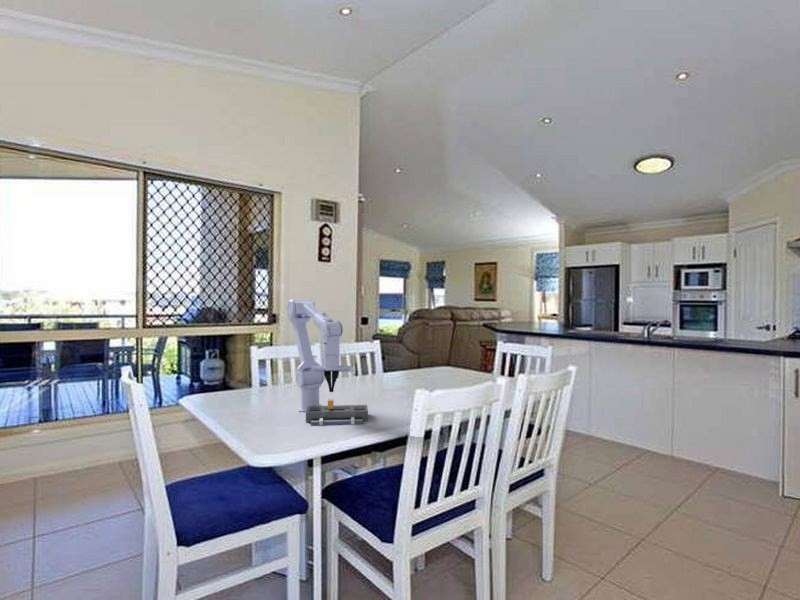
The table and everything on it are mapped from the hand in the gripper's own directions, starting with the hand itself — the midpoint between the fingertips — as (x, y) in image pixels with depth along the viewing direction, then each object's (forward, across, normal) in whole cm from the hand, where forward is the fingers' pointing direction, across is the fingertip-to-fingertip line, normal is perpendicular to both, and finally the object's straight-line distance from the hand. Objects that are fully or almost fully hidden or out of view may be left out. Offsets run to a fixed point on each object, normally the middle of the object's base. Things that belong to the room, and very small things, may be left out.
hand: (331, 391), depth 173 cm
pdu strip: (+10, +2, 0) cm, 10 cm away
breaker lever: (+6, 0, 0) cm, 6 cm away
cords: (+10, +2, -7) cm, 12 cm away
